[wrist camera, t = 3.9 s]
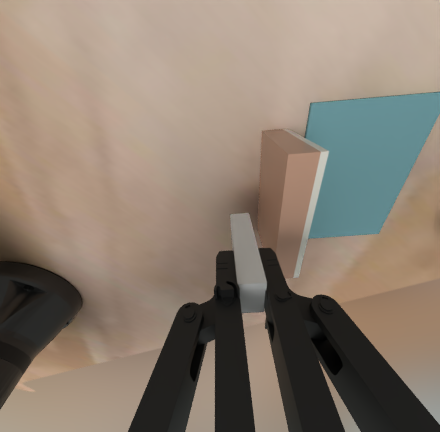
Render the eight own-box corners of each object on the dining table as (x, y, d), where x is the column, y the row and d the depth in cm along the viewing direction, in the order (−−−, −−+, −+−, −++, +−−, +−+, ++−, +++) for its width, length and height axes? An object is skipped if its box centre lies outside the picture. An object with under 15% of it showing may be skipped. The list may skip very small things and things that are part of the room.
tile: (257, 228, 25) (272, 279, 18) (261, 130, 18) (288, 154, 12) (276, 227, 25) (298, 277, 18) (287, 128, 18) (329, 151, 12)
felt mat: (287, 238, 26) (288, 239, 26) (310, 103, 17) (311, 103, 17) (377, 232, 26) (378, 233, 25) (447, 91, 17) (451, 91, 16)
